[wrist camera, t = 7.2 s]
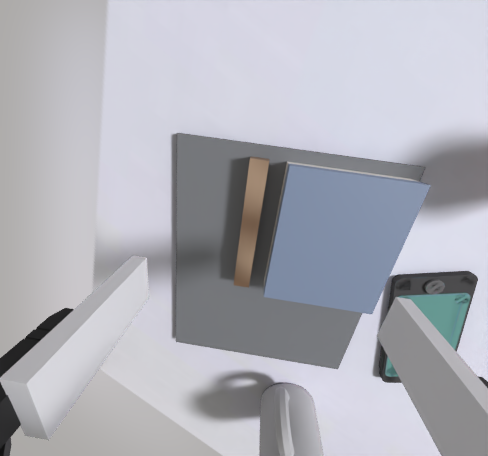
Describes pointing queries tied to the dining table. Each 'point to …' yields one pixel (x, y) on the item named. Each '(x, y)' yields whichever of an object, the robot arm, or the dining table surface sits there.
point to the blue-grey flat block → (339, 235)
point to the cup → (288, 422)
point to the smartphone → (434, 306)
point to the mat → (226, 249)
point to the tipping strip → (250, 219)
